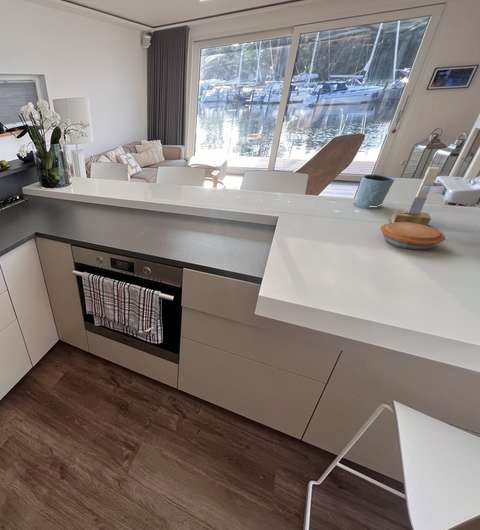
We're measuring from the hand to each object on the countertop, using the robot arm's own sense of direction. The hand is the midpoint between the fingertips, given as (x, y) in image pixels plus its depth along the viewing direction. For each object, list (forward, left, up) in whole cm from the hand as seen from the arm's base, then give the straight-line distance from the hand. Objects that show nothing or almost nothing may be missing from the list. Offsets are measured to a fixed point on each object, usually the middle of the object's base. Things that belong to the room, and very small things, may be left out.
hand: (421, 186), depth 98 cm
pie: (-10, +13, -14) cm, 22 cm away
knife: (-1, -1, -10) cm, 10 cm away
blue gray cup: (+20, -7, -14) cm, 25 cm away
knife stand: (0, -1, -14) cm, 14 cm away
